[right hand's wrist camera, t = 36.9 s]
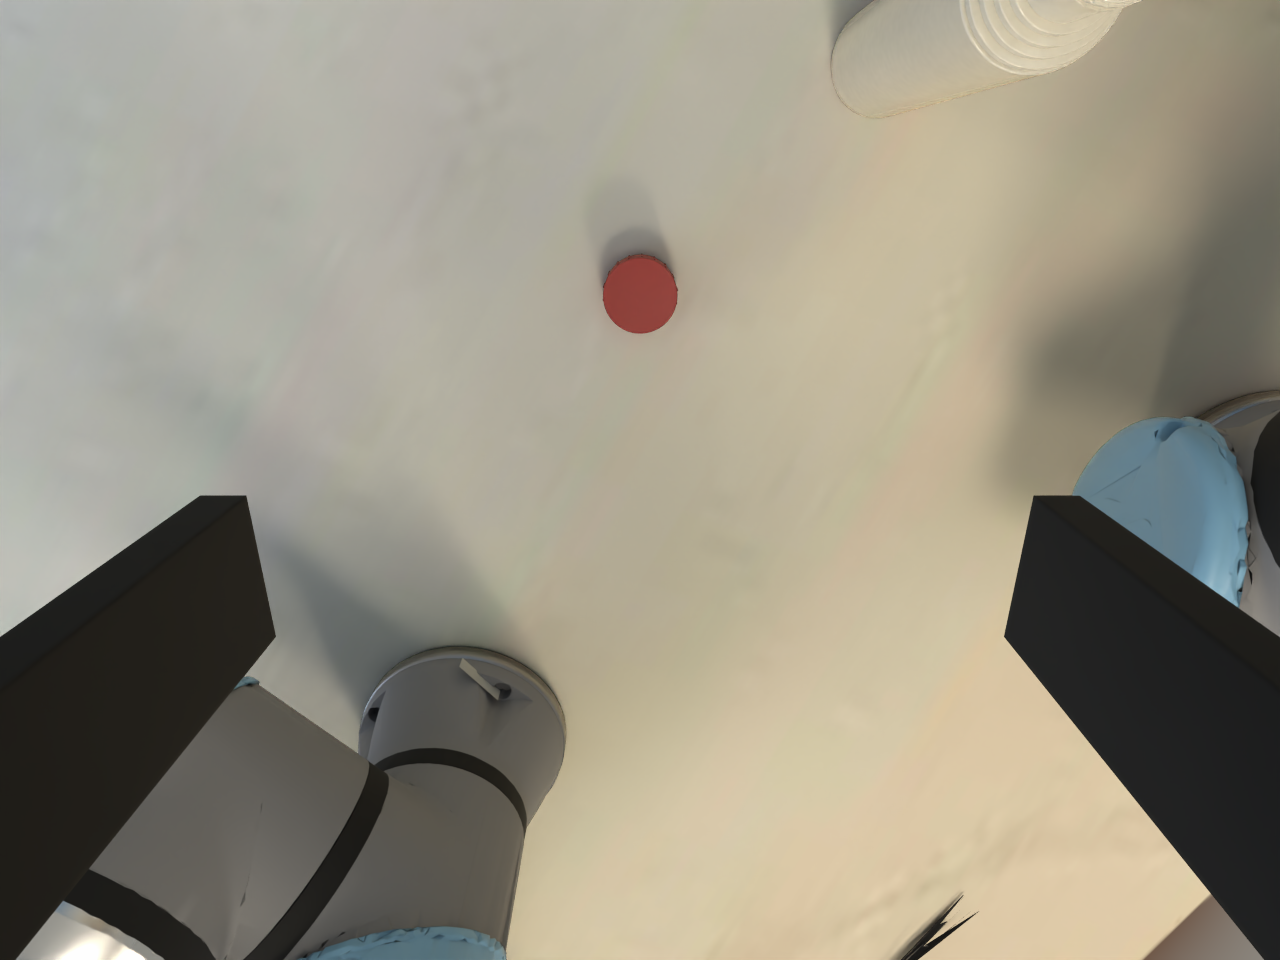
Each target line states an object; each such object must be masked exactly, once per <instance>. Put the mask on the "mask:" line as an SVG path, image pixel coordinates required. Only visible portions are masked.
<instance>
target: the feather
mask: <svg viewBox="0 0 1280 960" xmlns="http://www.w3.org/2000/svg"><path fill="white" fill-rule="evenodd" d="M962 897H963V896H962ZM962 897H961V898H962ZM961 898H960V899H961ZM960 899H959V900H960ZM959 900H958V901H959ZM958 901H957V902H956V903H955V904H954V905H953V906H952V907H951V908H950V909H949V910H948V911H947V912H946V913H945V914H944V915H943V916H942V917H941V919H940V920H939V921H938V922H937V923H936V924H935V925H934V926H933V927H932V928H931V929H930V930H929V931H928V932H927V933H926V934H925V935H924V936H923V937H922V938H921V939H920V941H919V942H918V943H917V944H916V945H915V946H914V947H913V948H912V949H911V950H910V951H909V952H908V953H907V954H906V955H905V956H904V957H903V958H902V959H901V960H918V959H919V958H921V957H922V956H923V955H924V954H926V953H927V952H928V951H930V950H931V949H932V948H933V947H935V946H936V945H937V944H938V943H940V942H941V941H942V940H943V939H945V938H946V937H947V936H949V935H950V934H951V933H952V932H954V931H955V930H956V929H957V928H959V927H960V926H961V925H962V924H964V923H965V922H966V921H967V920H969V919H970V918H971V917H973V916H974V915H975V914H976V913H975V914H974V915H972V916H971V917H969V918H967V919H966V920H964V921H963V922H961V923H960V924H958V925H956V926H955V927H953V928H952V927H951V928H952V929H951V928H950V930H948V931H946V932H945V933H944V934H942V935H941V936H939V937H937V938H936V939H934V940H933V941H931V942H930V943H928V944H926V943H927V942H928V941H929V940H930V939H931V938H932V937H933V936H934V935H935V934H936V933H937V932H938V931H939V930H940V929H941V928H942V927H943V926H944V925H945V923H946V922H944V923H941V922H942V921H943V920H944V918H945V917H946V916H947V915H948V914H949V912H950V911H951V910H952V909H953V907H954V906H955V905H956V904H957V903H958ZM959 911H960V910H959ZM978 912H979V911H978ZM978 912H977V913H978ZM969 913H970V912H969ZM963 918H964V917H963ZM940 923H941V924H940ZM925 944H926V945H925ZM924 945H925V946H924Z"/></svg>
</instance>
